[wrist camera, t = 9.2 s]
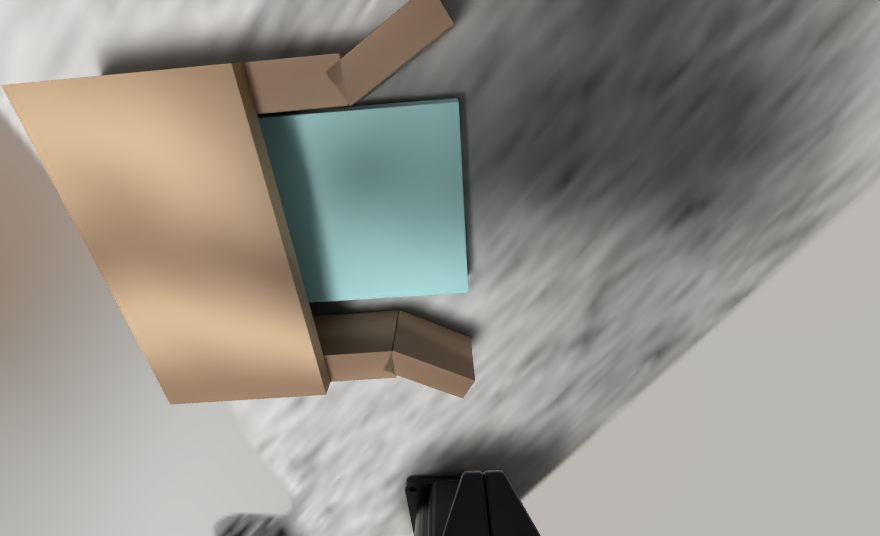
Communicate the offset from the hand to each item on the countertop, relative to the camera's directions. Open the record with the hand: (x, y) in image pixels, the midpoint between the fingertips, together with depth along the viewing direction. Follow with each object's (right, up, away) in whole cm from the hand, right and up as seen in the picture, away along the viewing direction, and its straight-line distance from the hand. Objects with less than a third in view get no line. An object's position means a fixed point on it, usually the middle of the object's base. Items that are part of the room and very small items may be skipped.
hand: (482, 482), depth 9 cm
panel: (-6, +7, +10) cm, 14 cm away
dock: (-7, +7, +10) cm, 14 cm away
